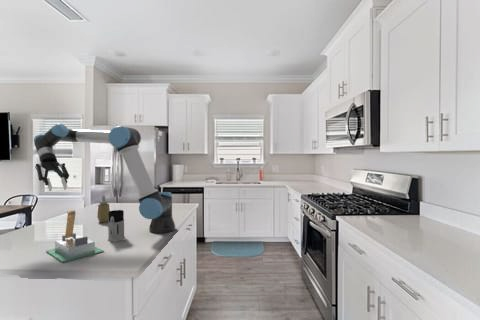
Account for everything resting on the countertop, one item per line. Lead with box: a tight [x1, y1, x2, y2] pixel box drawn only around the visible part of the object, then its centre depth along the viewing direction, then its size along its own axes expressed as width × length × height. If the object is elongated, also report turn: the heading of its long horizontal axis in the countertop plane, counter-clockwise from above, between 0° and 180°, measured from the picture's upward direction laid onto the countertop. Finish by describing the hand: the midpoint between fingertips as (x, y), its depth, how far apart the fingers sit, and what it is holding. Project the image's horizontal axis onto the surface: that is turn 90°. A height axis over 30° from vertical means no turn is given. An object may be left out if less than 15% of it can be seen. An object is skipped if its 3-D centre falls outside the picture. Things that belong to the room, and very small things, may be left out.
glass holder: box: [107, 209, 126, 242], centre depth 147 cm, size 9×14×15 cm, turn 10°
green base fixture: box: [45, 232, 105, 264], centre depth 130 cm, size 22×17×8 cm
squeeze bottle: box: [96, 195, 111, 223], centre depth 190 cm, size 8×8×18 cm
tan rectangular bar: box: [64, 210, 77, 239], centre depth 133 cm, size 14×3×2 cm
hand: (58, 188), depth 143 cm, fingers open, 6 cm apart
